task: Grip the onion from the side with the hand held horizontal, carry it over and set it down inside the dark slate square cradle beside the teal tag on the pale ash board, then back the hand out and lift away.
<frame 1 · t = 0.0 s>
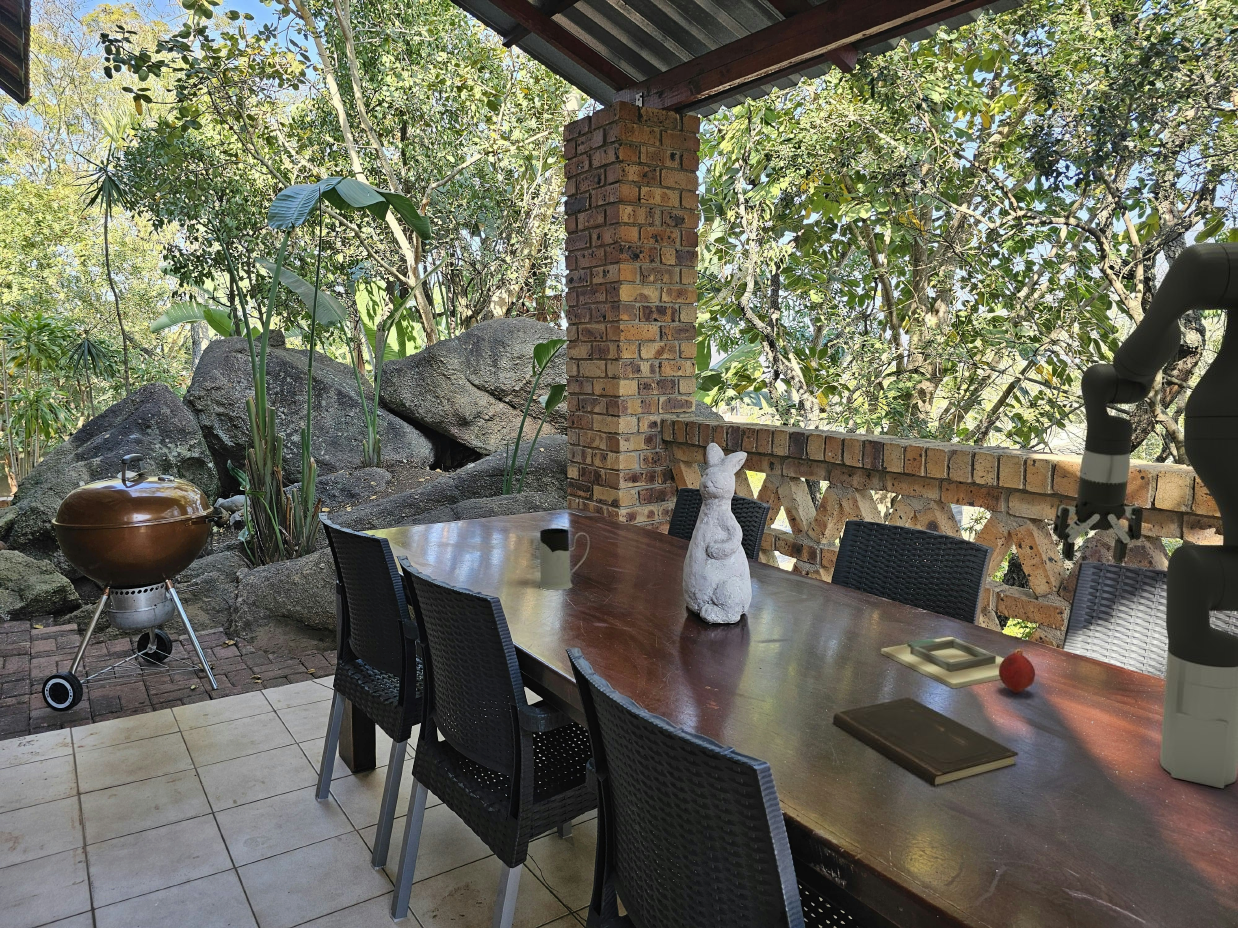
hand: (1092, 560, 157), 22 cm above the table, tool pointing down, fingers open, 8 cm apart
glass holder: (565, 585, 228), on the table
hardcover book: (920, 747, 134), on the table
cradle board: (951, 663, 168), on the table
onion: (1015, 693, 153), on the table
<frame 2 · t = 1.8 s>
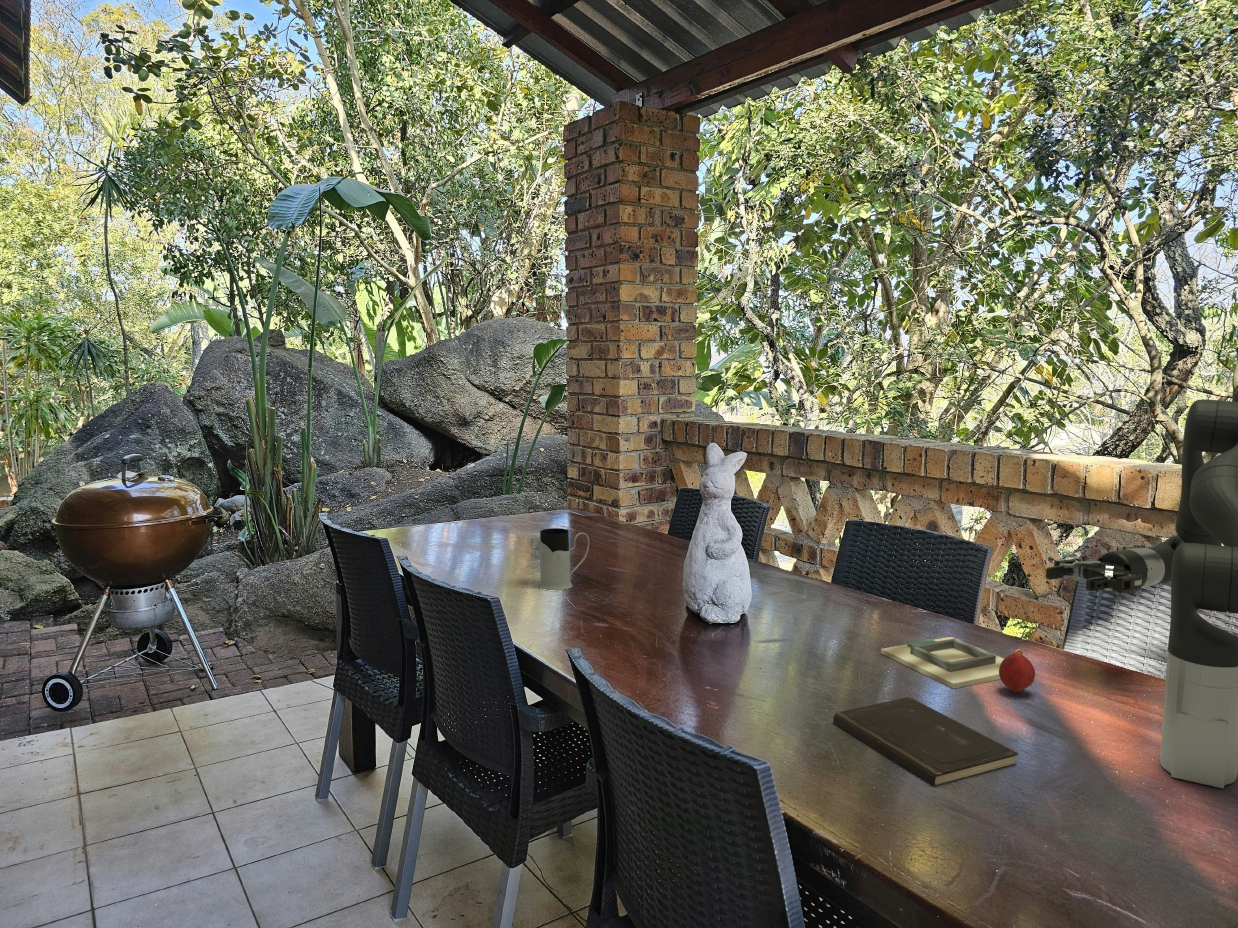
hand: (1067, 579, 155), 19 cm above the table, tool horizontal, fingers open, 8 cm apart
nothing on the table moved.
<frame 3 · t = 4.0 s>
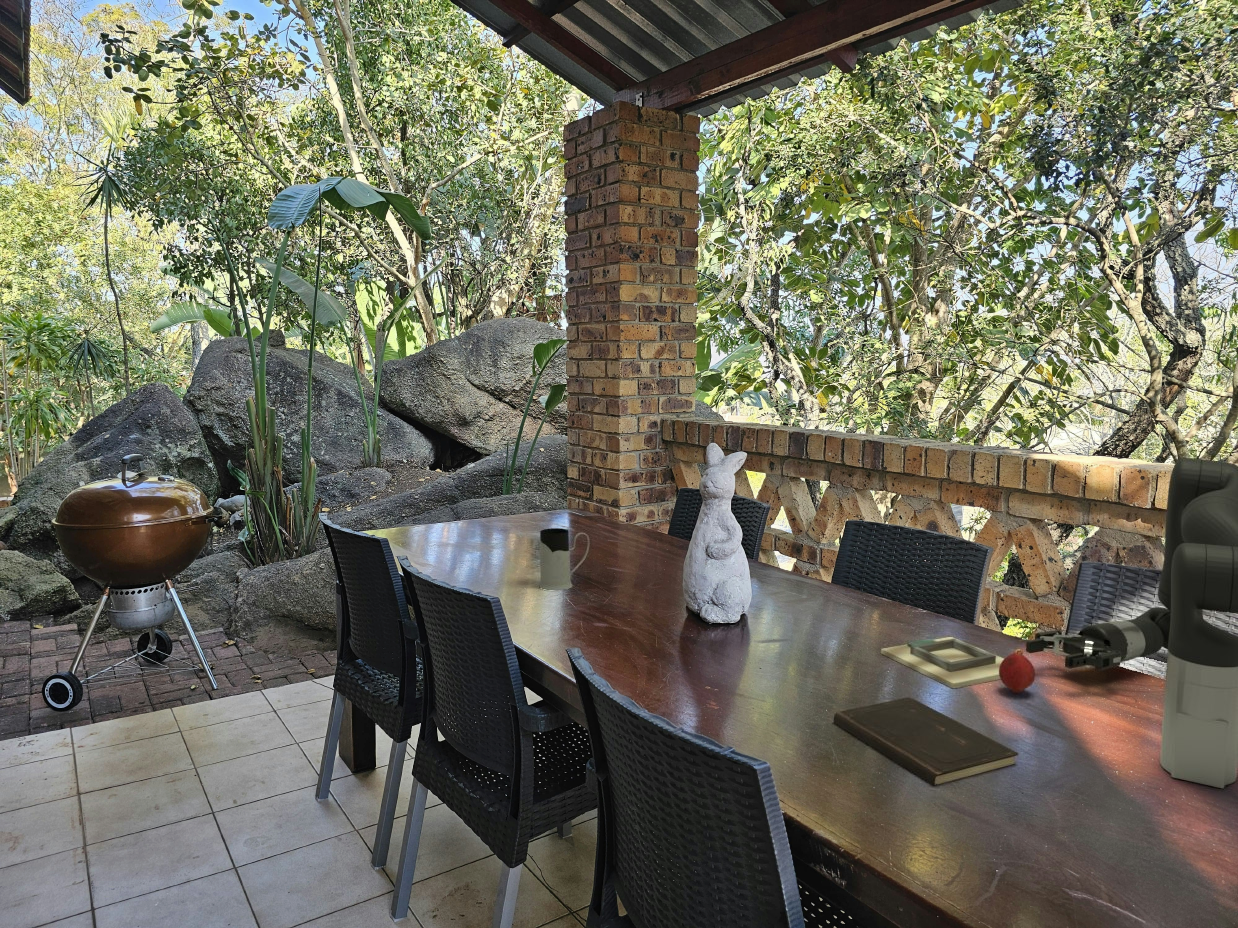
hand: (1046, 654, 155), 6 cm above the table, tool horizontal, fingers open, 8 cm apart
nothing on the table moved.
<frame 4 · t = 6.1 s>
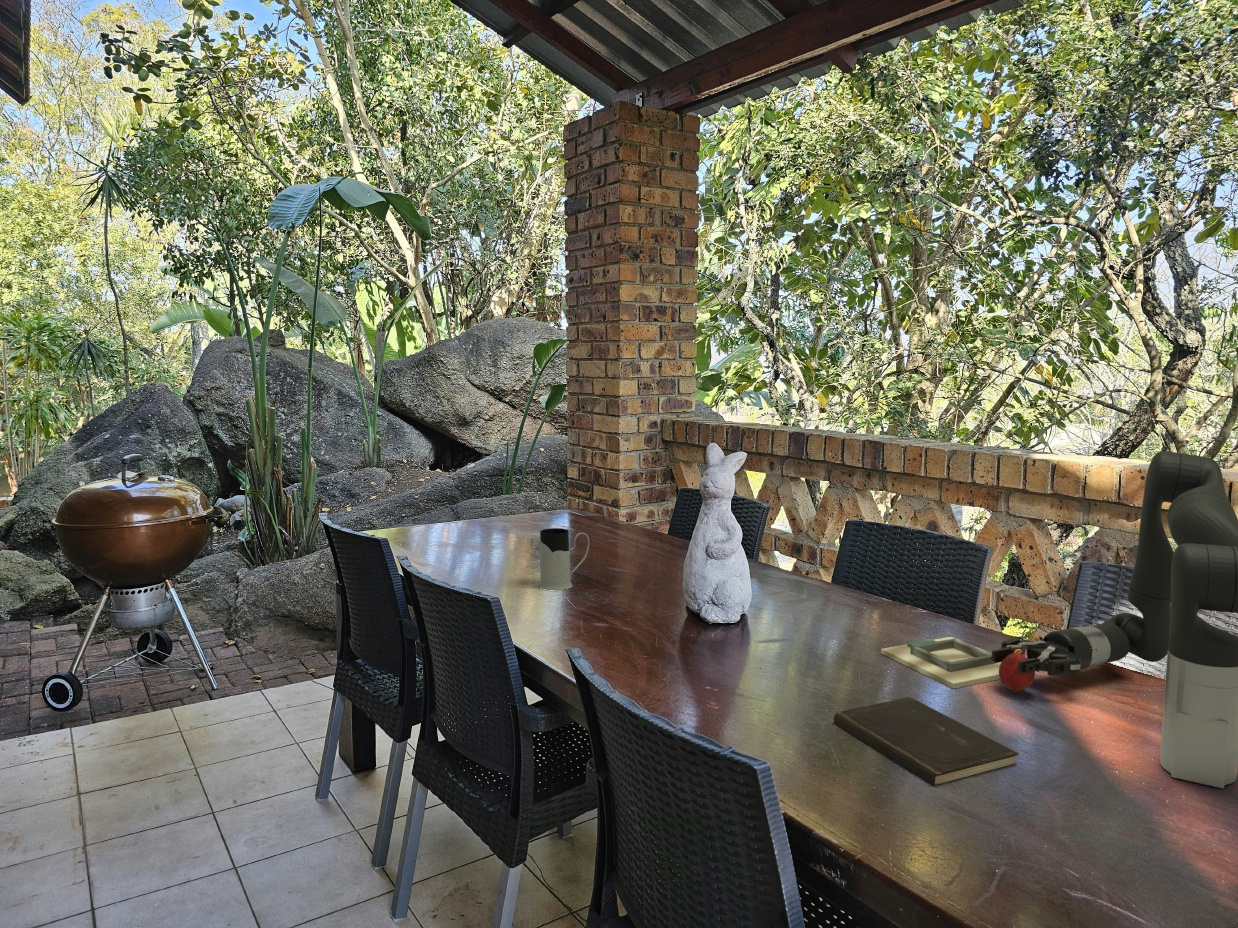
hand: (1006, 662, 151), 6 cm above the table, tool horizontal, fingers closed on onion, 5 cm apart
onion: (1015, 693, 153), on the table, touching gripper
everything else where it was.
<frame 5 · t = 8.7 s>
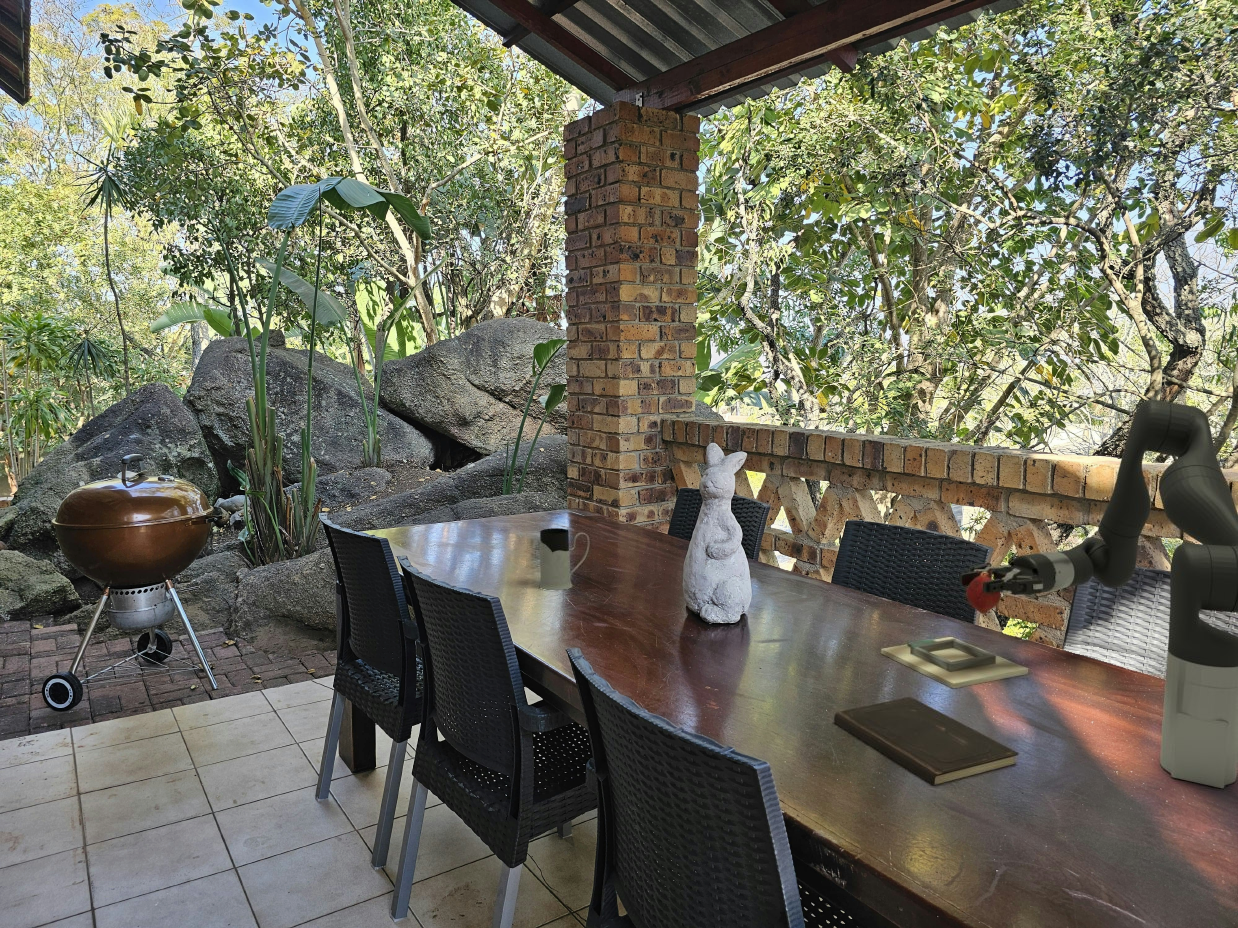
hand: (972, 583, 159), 18 cm above the table, tool horizontal, fingers closed on onion, 5 cm apart
onion: (982, 614, 161), point 12 cm above the table, touching gripper
everything else where it was.
when the fingers open (8 cm above the table, at t = 11.4 s): onion drops 1 cm, resting on cradle board.
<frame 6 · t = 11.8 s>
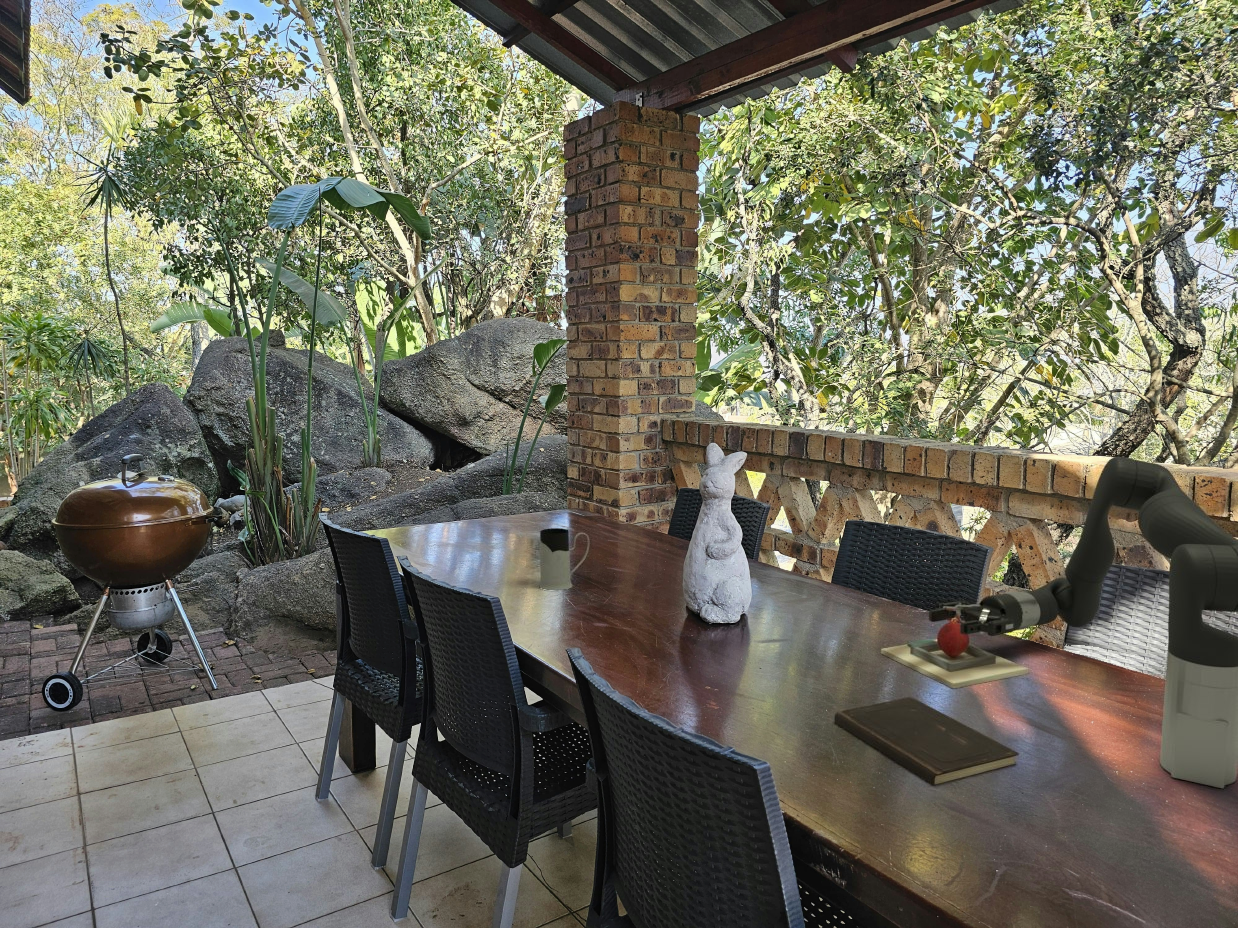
hand: (945, 622, 166), 8 cm above the table, tool horizontal, fingers open, 8 cm apart
onion: (952, 658, 168), point 1 cm above the table, touching cradle board
everything else where it was.
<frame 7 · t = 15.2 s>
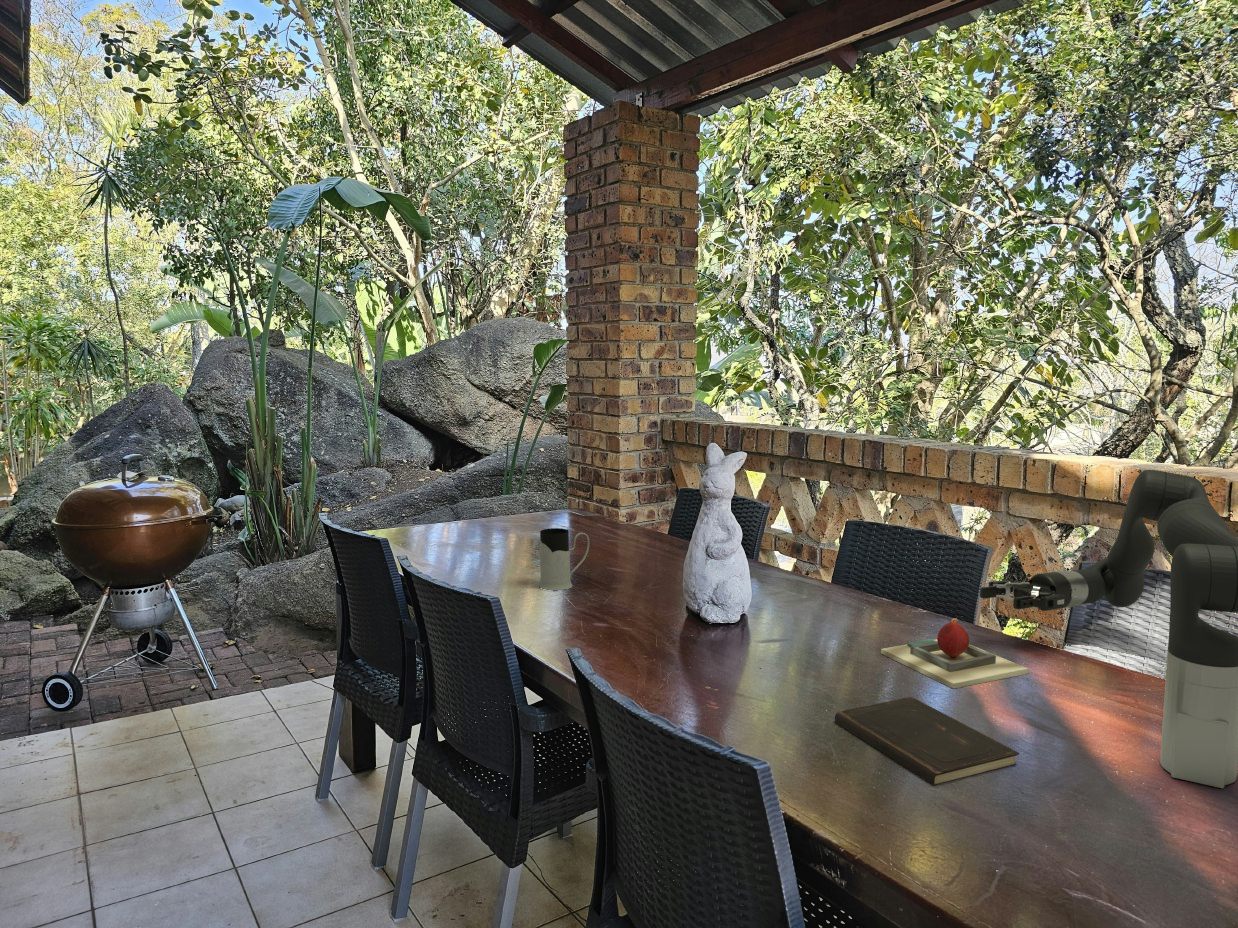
hand: (997, 598, 170), 12 cm above the table, tool horizontal, fingers open, 8 cm apart
nothing on the table moved.
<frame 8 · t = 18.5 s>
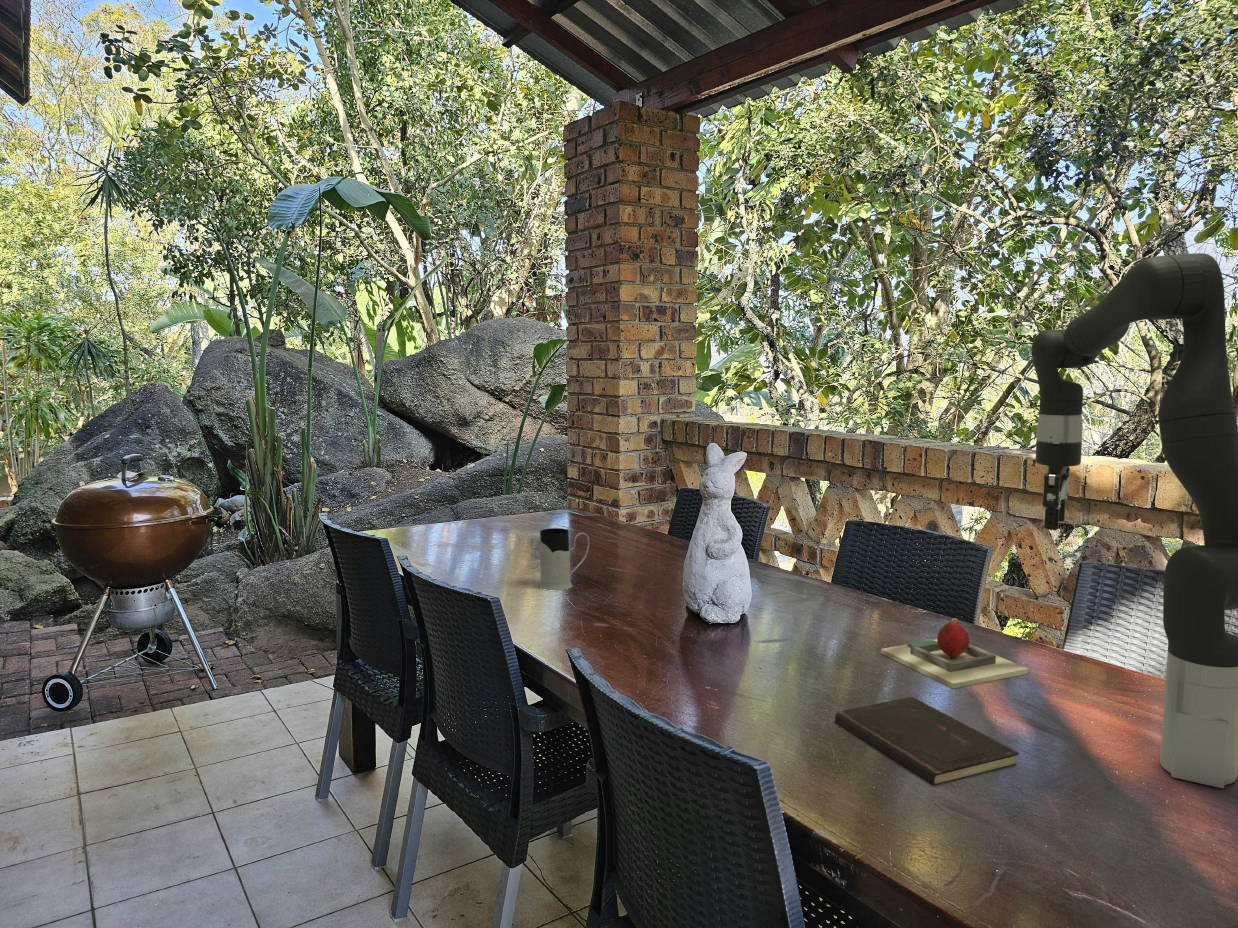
hand: (1054, 525, 160), 28 cm above the table, tool pointing down, fingers open, 8 cm apart
nothing on the table moved.
at the end: onion 0.2 cm off-centre on the cradle board, point 0.8 cm above the cradle board's base; the gripper is holding nothing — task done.
